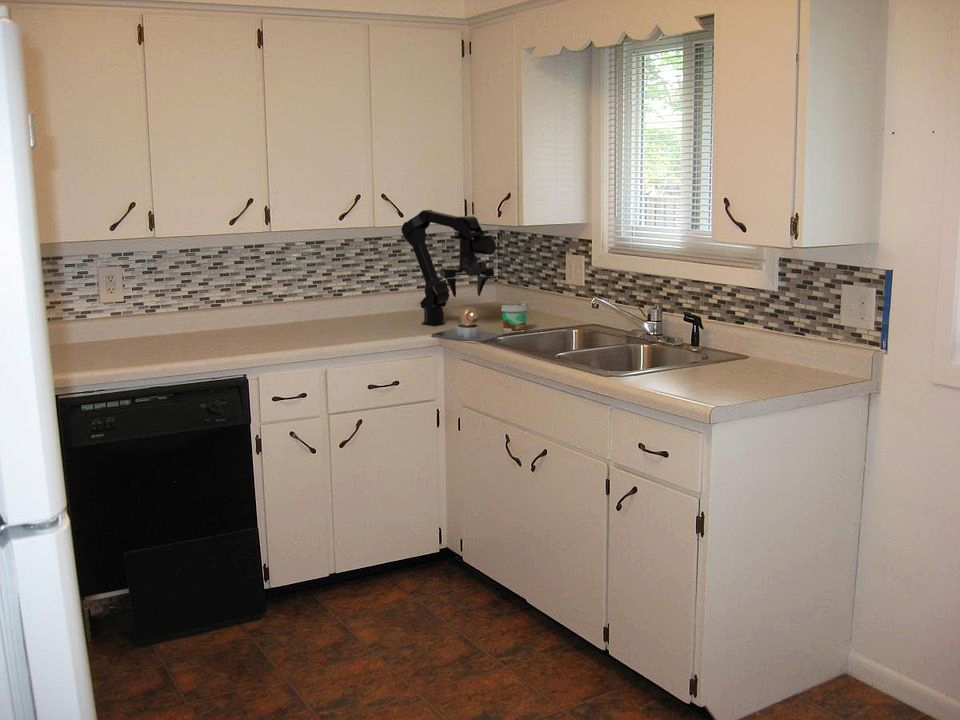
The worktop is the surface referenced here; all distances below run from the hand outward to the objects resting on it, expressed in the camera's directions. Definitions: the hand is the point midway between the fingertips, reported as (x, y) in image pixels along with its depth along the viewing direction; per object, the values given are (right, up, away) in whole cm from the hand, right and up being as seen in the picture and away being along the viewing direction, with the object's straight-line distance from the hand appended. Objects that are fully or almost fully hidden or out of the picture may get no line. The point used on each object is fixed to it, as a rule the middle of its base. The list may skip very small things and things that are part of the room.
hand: (466, 296), depth 355 cm
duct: (+1, -15, -13) cm, 19 cm away
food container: (+18, -13, -2) cm, 23 cm away
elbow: (+1, -14, -14) cm, 20 cm away
